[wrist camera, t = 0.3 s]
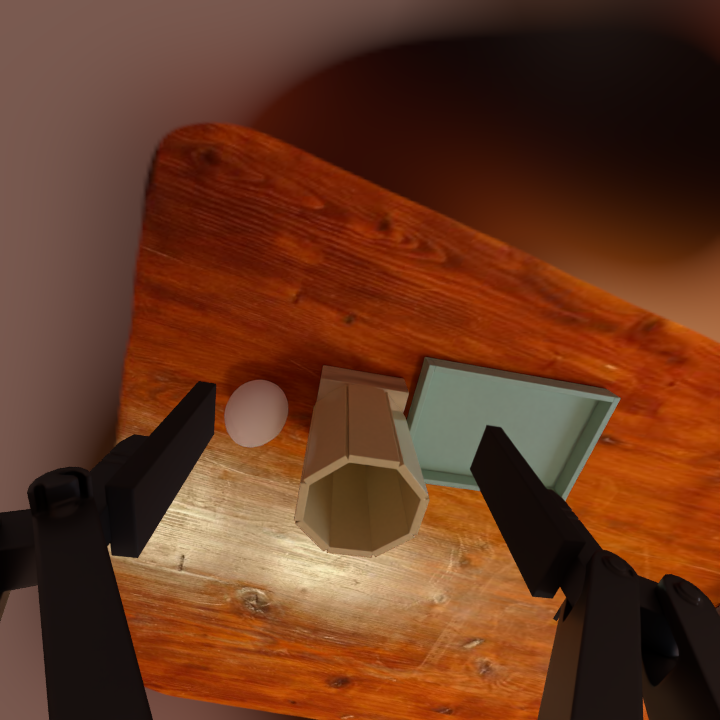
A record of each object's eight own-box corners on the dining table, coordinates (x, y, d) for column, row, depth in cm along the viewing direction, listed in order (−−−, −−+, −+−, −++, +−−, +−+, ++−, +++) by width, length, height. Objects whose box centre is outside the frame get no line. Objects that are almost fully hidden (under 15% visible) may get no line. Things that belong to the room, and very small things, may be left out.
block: (323, 364, 33) (320, 378, 30) (404, 378, 34) (409, 392, 31) (310, 434, 36) (307, 452, 33) (385, 445, 37) (388, 464, 34)
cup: (318, 375, 30) (306, 448, 21) (411, 391, 31) (441, 467, 21) (305, 454, 33) (288, 549, 24) (390, 465, 34) (407, 562, 25)
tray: (392, 466, 38) (395, 479, 36) (424, 356, 33) (429, 364, 31) (554, 489, 40) (564, 502, 38) (606, 388, 35) (620, 398, 33)
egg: (261, 425, 35) (241, 474, 28) (227, 386, 33) (196, 429, 27) (303, 399, 34) (293, 444, 27) (270, 358, 33) (250, 395, 26)
